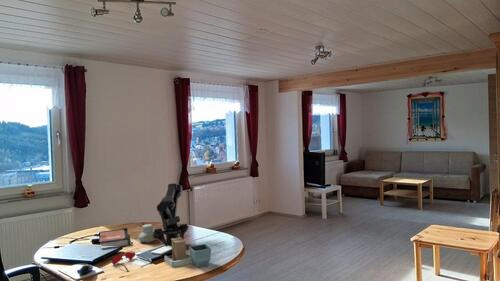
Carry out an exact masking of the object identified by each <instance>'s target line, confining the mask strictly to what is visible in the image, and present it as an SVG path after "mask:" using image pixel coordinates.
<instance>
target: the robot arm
mask: <svg viewBox="0 0 500 281" xmlns="http://www.w3.org/2000/svg"><path fill="white" fill-rule="evenodd" d="M182 193H183V186H182V185H181V184H178V183H168V185H167V191H166V193H165V196H164V197H162V198H161V200H160V202H159V204H158V205H156V211H157V213H158V215H159V216H160V219H161V224H162V227H161V228H160V227H159V228H154V230H153V231H154V232H153V238H154V239H155V238H156V239H155V240H159V242H161V243H162V245H164V246H165V247H168V246H172V240H171V239H173V238H179V237H181V238H183V239H184V238H185V234H186V233H187V231H188V229H189V224H187V223H182V224H180V225H179V223H180V222H181V218H180V216H179V215H177V210H178V203H179V198H180V197H181V196H182ZM162 228H163V229H162ZM165 236H166V237H165ZM184 240H185V239H184Z"/></svg>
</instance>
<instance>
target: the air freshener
mask: <svg viewBox="0 0 500 281" xmlns="http://www.w3.org/2000/svg"><path fill="white" fill-rule="evenodd" d="M153 232H154V230H153V225H152V224H149V223H148V224H147V223H146V224H144V225H142V232H141V233H140V234H139V235H138V239H139V241H140V242H141V243H146V244H148V243H152V242H154V241H155V240H157V239H156V238H155V239H154V238H153Z"/></svg>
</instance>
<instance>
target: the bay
mask: <svg viewBox="0 0 500 281" xmlns="http://www.w3.org/2000/svg"><path fill="white" fill-rule="evenodd" d="M164 262H166V264H168V265H169V266H170V267H171V268H176V267H179V266H184V265H188V264H192V263H193V264H194V262H193V261H192V258H191V255H190V252H188V251H186V259H182V260H177V261H173V260H172V258H170V257H169V256H168V255H164Z"/></svg>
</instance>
